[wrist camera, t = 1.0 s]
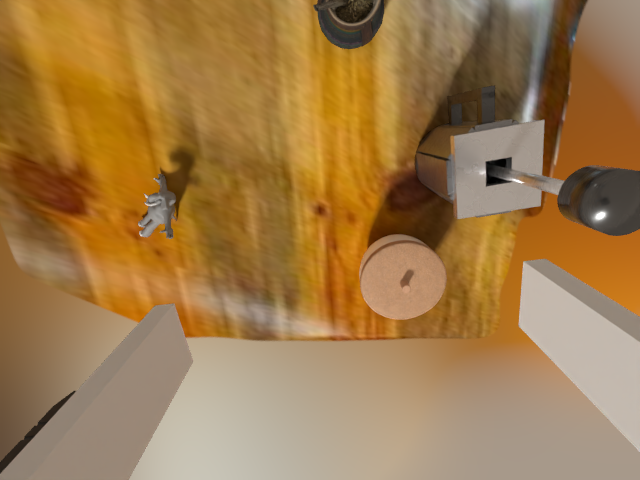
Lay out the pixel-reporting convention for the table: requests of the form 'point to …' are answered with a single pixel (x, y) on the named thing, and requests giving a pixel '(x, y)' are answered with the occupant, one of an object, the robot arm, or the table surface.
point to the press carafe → (480, 158)
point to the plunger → (585, 194)
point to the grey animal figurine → (159, 210)
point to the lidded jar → (401, 277)
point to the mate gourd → (350, 21)
